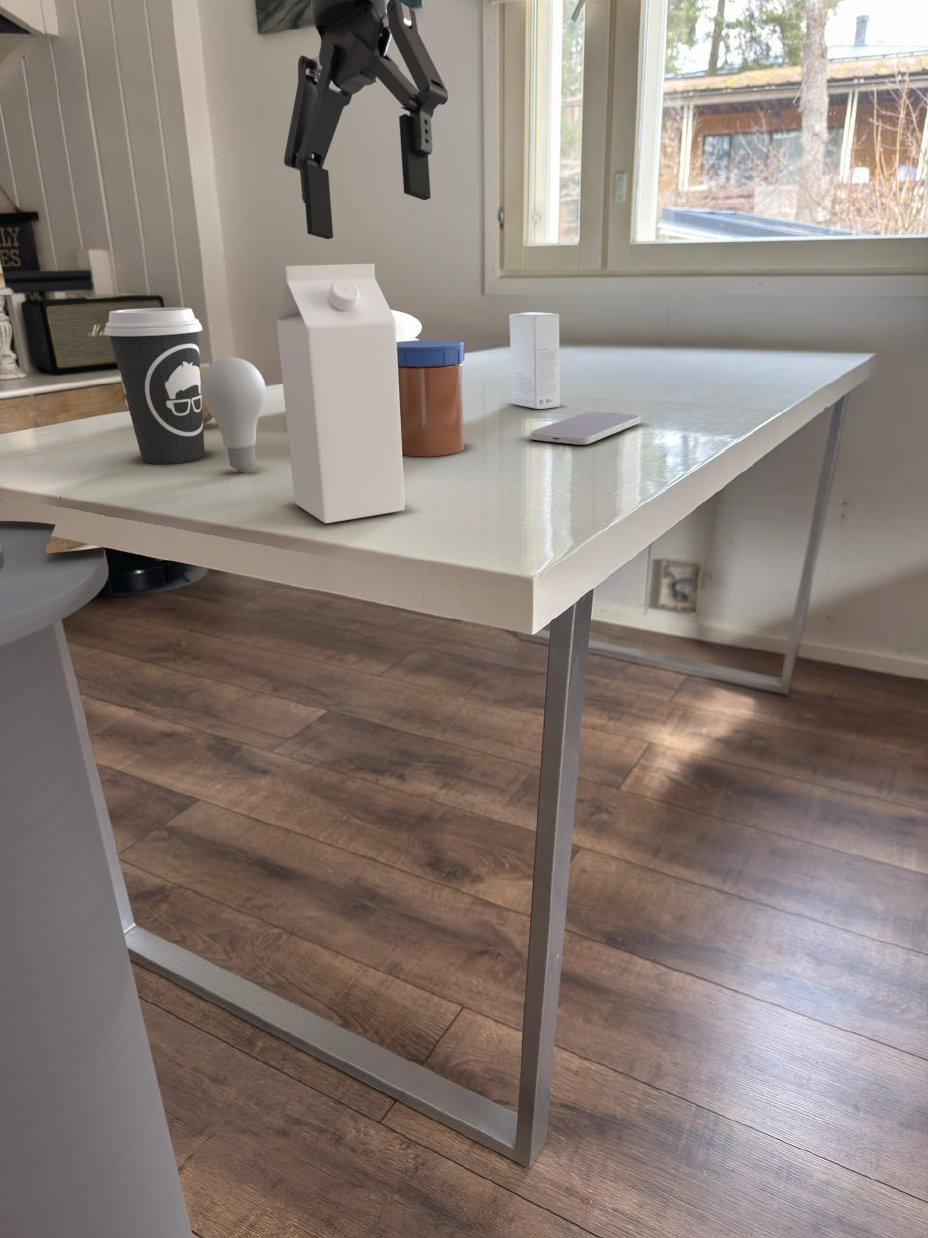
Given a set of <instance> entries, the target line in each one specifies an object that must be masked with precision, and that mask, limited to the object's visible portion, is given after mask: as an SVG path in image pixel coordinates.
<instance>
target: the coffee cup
mask: <svg viewBox="0 0 928 1238" xmlns="http://www.w3.org/2000/svg"><path fill="white" fill-rule="evenodd" d="M201 331H203V327H202V323H200V321H199V319H198V318H196V317H195V314H194V311H193V309H192V308H191V307H149V308H147V307H146V308H131V309H130V308H127V309H116V310H111V311H109V313H108V322H106V323H105V327H104V332H103V333H104V336H108V337H109V339H110V343H111V347H112V349H113V353H114V359H115V361H116V366H117V369H118V372H119V376H120V377H119V378H120V380H121V385H122V388H123V391H124V396H125V399H126V403H127V407H128V411H129V415H130V419H131V422H132V426H133V430H134V434H135V438H136V442H137V445H138V450H139V453H140V458H141V461H142V462H144V463H147V464H154V465H170V464H172V465H173V464H180V463H181V464H182V463H188V462H192V461H196V460H199V459H202V458H203V457H205V451H206V449H205V436H204V435H205V433H204V423H203V413H202V396H201V391H200V385H201V376H200V366H201V359H200V338H199V337H200V334H199V332H201Z"/></svg>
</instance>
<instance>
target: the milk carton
mask: <svg viewBox="0 0 928 1238" xmlns="http://www.w3.org/2000/svg"><path fill="white" fill-rule="evenodd" d="M284 271H285V280H286V281H285V285H284V289H283V293H282V297H281V300H280V304H279V308H278V312H277V317H276V329H277V339H278V341H277V342H278V349H279V359H280V369H281V378H282V389H283V398H284V409H285V419H286V428H287V429H286V430H287V439H288V448H289V457H290V469H291V478H292V487H293V497H294V503H295V504H296V505H297V506H298V507H300V508H301V509H303V510H304V511H306V512H307V513H308V514H310V515H311V516H313V517H315V518H316V519H318V520H319V521H321V522H322V523H324V524H331V523H336V522H342V521H343V522H344V521H348V520H354V519H361V518H368V517H372V516H373V517H374V516H378V515H385V514H389V513H396V512H402V511H404V510H405V509H406V508H405V507H406V505H405V504H406V503H405V487H404V486H405V483H404V465H403V463H404V462H403V455H402V443H401V423H400V403H399V383H398V363H397V343H396V326H395V318H394V316H393V314H392V312H391V310H392V309H391V308H390V306H389V304H388V302H387V300H386V298H385V296H384V294H383V292H382V290H381V288H380V285H379V284H378V281H377V280H376V272H375V263H347V264H345V263H344V264H342V263H341V264H311V265H310V264H309V265H308V264H307V265H285V266H284Z"/></svg>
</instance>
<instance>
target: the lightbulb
mask: <svg viewBox="0 0 928 1238" xmlns="http://www.w3.org/2000/svg"><path fill="white" fill-rule="evenodd" d="M206 368H207V369H206V371H205V372H204V374H203V376H202V379H201V385H200V391H201V396H202V399H203V402H204V404H205V406H206V407H207V409H208V410H209V412H210V413H211V415H212V416H213V419H214V420H215V422H216V424H217V426H218V429H219V430H220V434H221V438H222V443H223V445H224V446H225V448H226V452H227V457H228V463H229V466H230V467H231V468H233V469H236V470H237V471H238V472H239V473H246V472H248V471H249V470H250V468H252V467H254V466H255V464H256V449H255V445H256V443H257V425H258V421H259V417H260V414H261V412H262V410H263V407H264V404H265V401H266V396H267V387H266V383H265V379H264V378H263V375H262V374H261V372H260V371H259V370H258V368H257V367H256V366H255V365H254V364H253V363H251V362H249V361H248V360H245V359H243V358H239V357H236V356H235V357H234V356H227V357H223V358H219V359H217V360H215V361H214V362H212V363H211V364H210V365H208V366H207V367H206Z"/></svg>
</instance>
